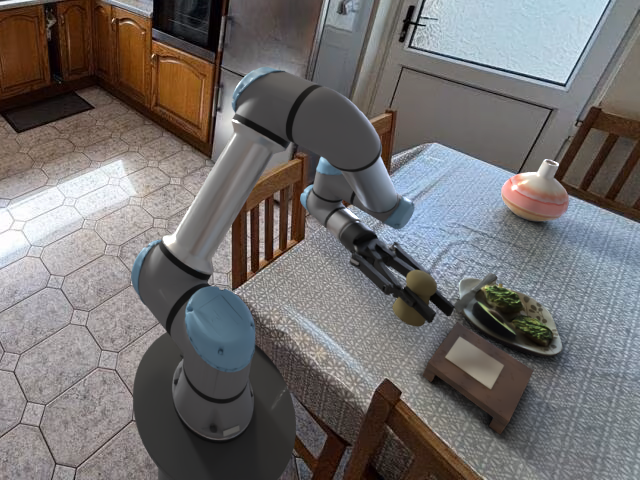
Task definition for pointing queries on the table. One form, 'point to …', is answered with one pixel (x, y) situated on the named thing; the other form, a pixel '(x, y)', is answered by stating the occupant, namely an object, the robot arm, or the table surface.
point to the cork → (420, 286)
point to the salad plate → (508, 316)
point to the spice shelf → (480, 373)
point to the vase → (536, 194)
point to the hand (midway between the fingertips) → (441, 314)
